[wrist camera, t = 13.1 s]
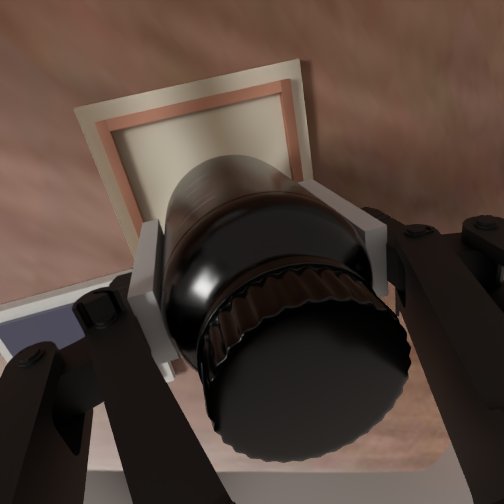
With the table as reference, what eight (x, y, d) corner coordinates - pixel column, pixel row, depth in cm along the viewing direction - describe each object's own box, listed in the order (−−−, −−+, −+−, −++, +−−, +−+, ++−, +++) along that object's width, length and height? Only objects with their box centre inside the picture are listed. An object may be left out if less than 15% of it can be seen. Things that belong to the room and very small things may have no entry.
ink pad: (51, 409, 28) (46, 424, 26) (-17, 309, 23) (-28, 321, 22) (174, 371, 29) (174, 383, 28) (132, 268, 24) (130, 278, 23)
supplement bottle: (316, 188, 19) (514, 318, 8) (255, 290, 20) (348, 507, 10) (199, 123, 16) (261, 189, 5) (142, 247, 18) (103, 477, 7)
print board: (151, 295, 25) (150, 306, 24) (76, 107, 20) (70, 108, 18) (318, 248, 27) (325, 256, 26) (295, 59, 21) (302, 57, 20)
